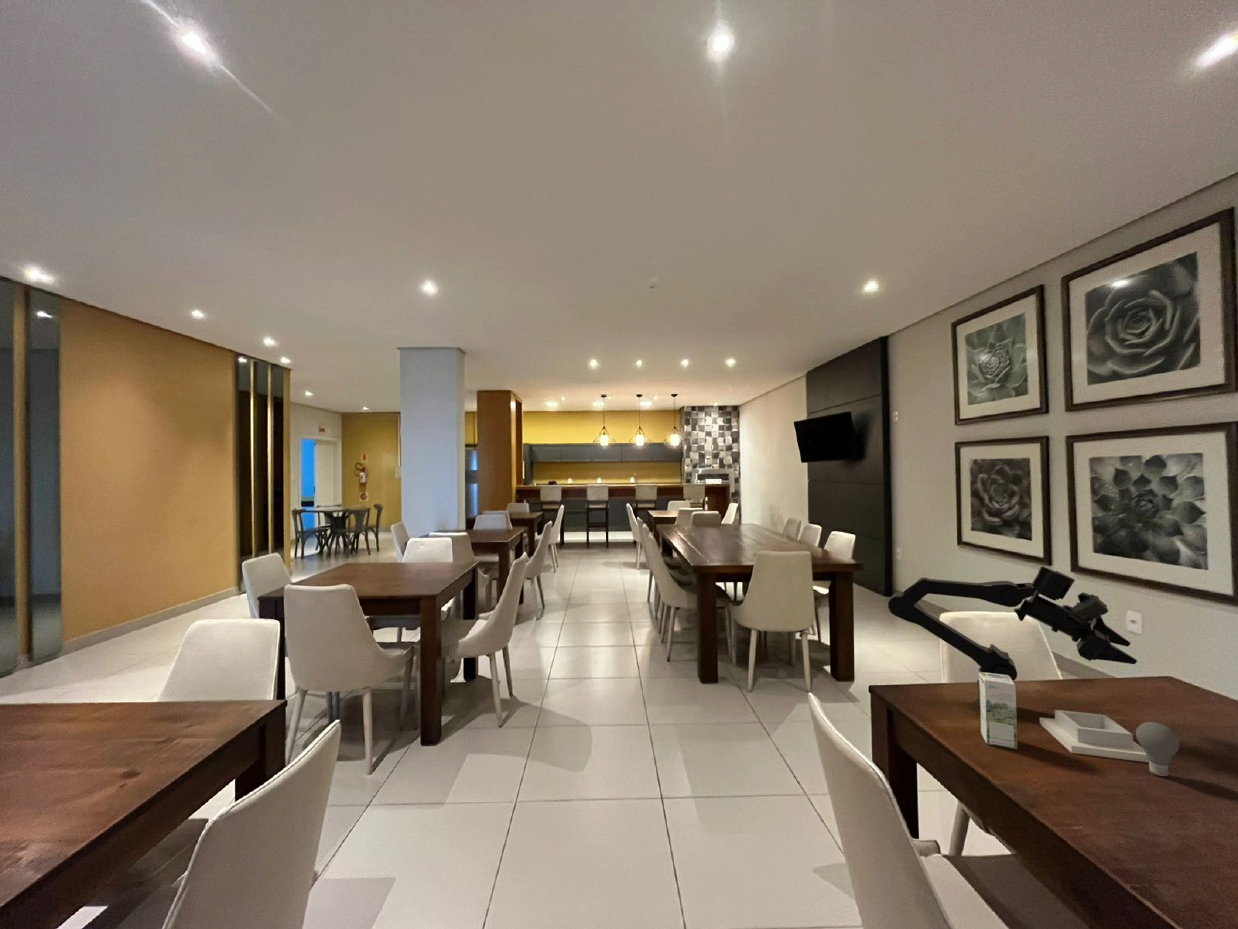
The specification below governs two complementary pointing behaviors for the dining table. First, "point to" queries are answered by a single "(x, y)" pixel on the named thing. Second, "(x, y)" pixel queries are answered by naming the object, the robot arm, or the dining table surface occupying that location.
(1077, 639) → the robot arm
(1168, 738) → the light bulb
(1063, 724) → the socket base
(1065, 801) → the dining table surface
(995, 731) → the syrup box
